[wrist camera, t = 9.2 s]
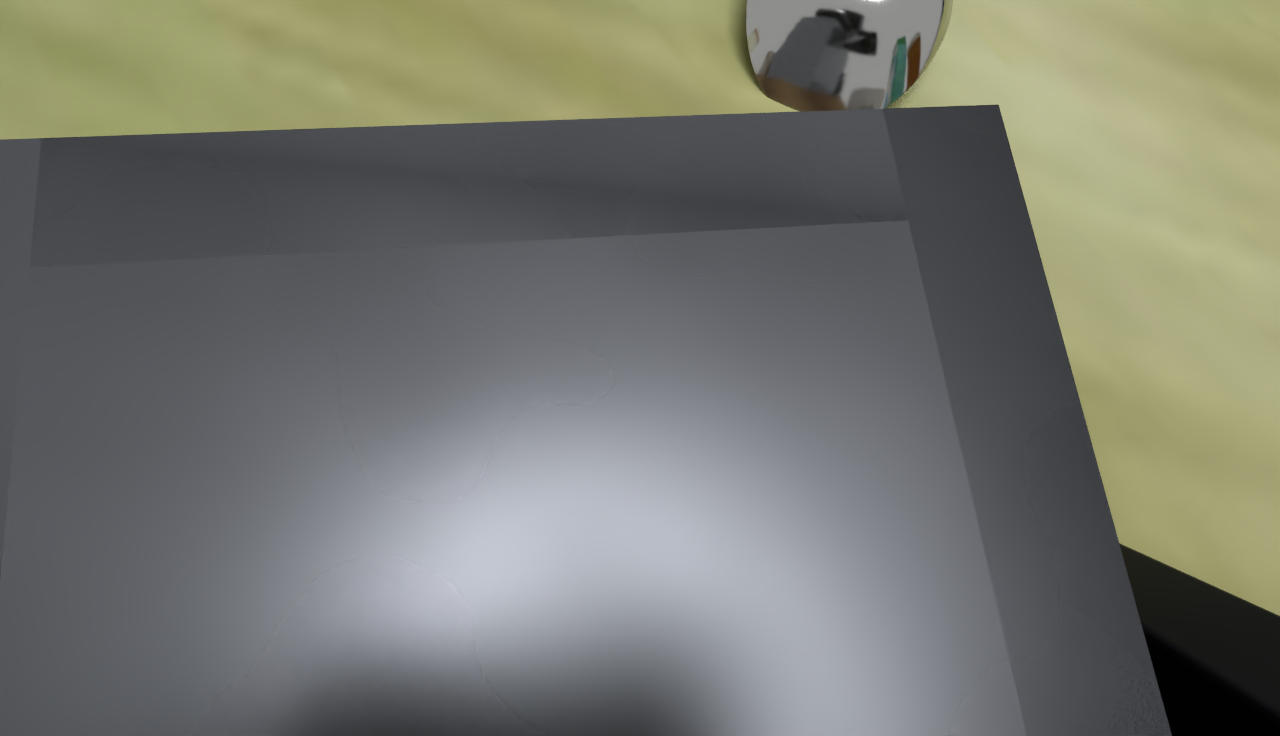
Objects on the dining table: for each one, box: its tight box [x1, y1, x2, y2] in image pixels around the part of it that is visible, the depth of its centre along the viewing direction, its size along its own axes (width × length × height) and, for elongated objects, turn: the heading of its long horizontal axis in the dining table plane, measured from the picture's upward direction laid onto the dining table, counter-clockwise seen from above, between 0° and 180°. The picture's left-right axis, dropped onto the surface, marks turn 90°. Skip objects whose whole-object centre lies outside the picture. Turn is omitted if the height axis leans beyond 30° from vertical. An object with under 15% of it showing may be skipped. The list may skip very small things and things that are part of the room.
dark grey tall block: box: [0, 105, 1172, 736], centre depth 10 cm, size 7×7×12 cm
